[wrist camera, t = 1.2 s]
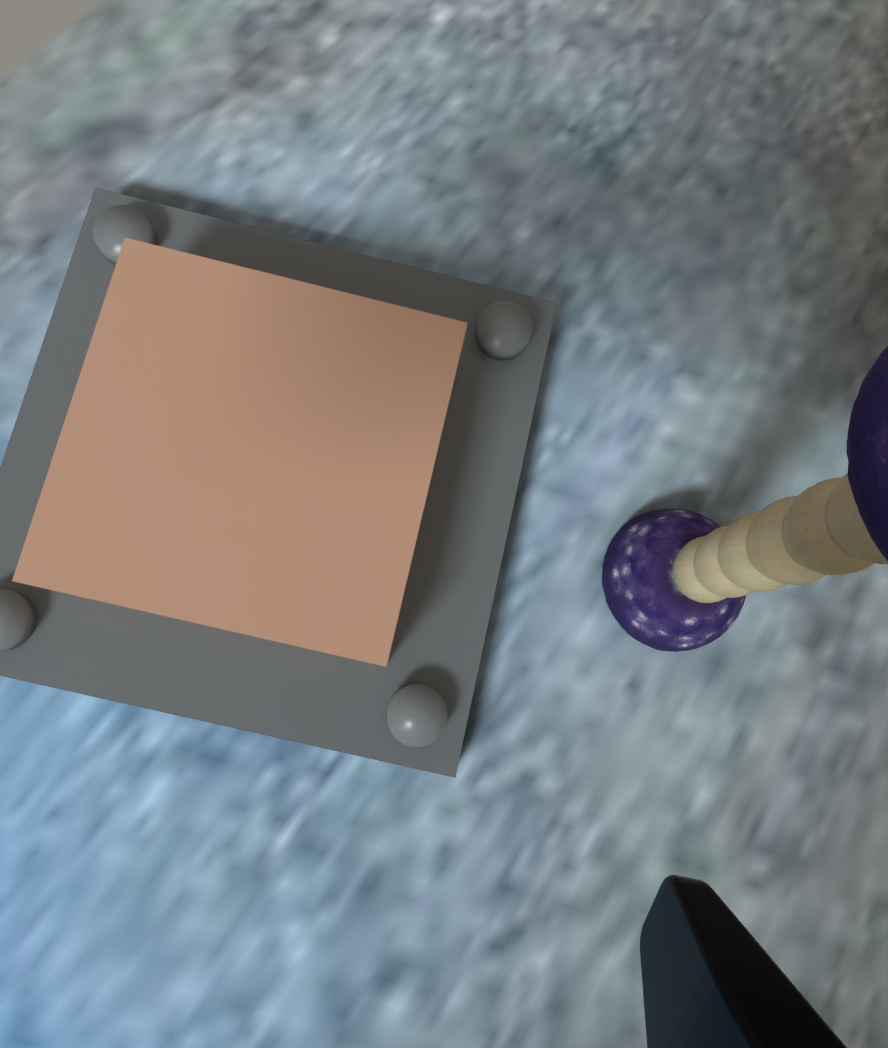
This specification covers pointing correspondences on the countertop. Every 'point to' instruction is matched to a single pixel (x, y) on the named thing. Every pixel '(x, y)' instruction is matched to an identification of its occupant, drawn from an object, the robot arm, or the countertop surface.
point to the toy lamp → (753, 542)
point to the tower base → (249, 663)
